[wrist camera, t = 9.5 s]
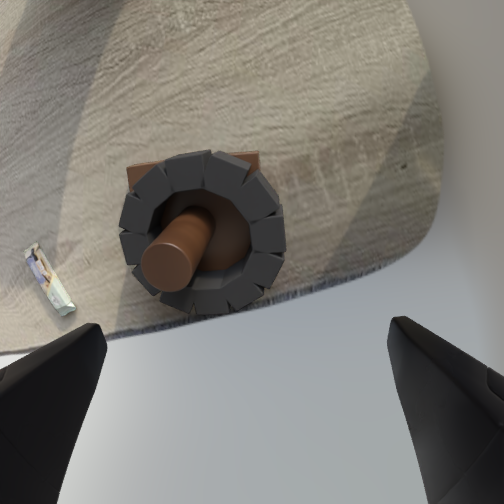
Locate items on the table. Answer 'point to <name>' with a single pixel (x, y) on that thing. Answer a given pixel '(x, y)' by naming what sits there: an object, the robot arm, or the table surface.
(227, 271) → the chunky treaded tire
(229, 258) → the stand
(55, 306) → the granola bar
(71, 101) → the table surface
